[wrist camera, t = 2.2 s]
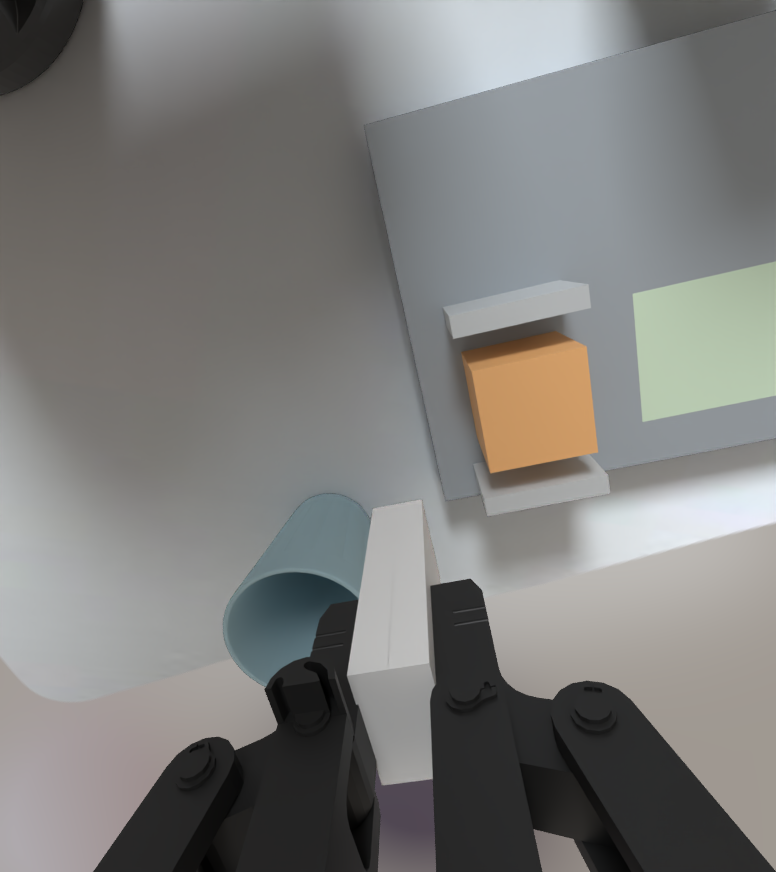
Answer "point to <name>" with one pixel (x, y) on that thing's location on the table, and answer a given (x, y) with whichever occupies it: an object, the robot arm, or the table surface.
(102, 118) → the table surface
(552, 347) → the orange block
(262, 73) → the table surface
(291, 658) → the cup
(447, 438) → the platform
